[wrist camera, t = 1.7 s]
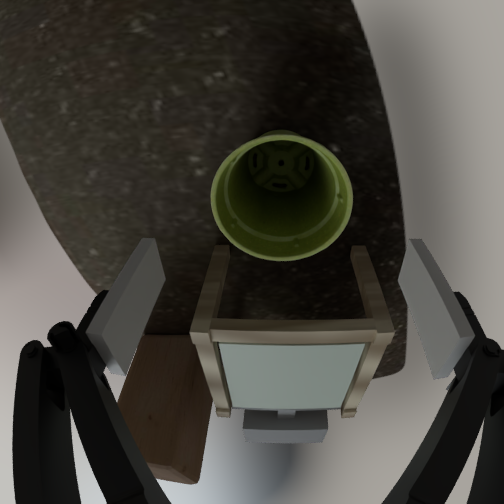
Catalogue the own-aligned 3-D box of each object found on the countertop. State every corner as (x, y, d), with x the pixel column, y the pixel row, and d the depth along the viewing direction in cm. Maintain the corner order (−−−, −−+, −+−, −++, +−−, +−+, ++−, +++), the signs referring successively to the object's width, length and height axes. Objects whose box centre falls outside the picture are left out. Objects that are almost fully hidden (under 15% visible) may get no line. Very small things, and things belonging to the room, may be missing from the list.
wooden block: (202, 331, 41) (172, 468, 25) (220, 370, 47) (200, 487, 31) (140, 331, 43) (97, 451, 27) (164, 369, 49) (135, 474, 32)
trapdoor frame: (215, 244, 33) (189, 331, 23) (365, 245, 31) (394, 332, 21) (229, 340, 42) (217, 416, 32) (343, 340, 40) (353, 417, 31)
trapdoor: (220, 321, 26) (213, 358, 23) (362, 321, 25) (370, 358, 22) (239, 415, 38) (236, 441, 35) (329, 416, 37) (331, 441, 33)
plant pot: (327, 209, 29) (342, 263, 22) (231, 206, 30) (216, 259, 23) (336, 115, 24) (361, 139, 17) (227, 112, 25) (205, 134, 18)
